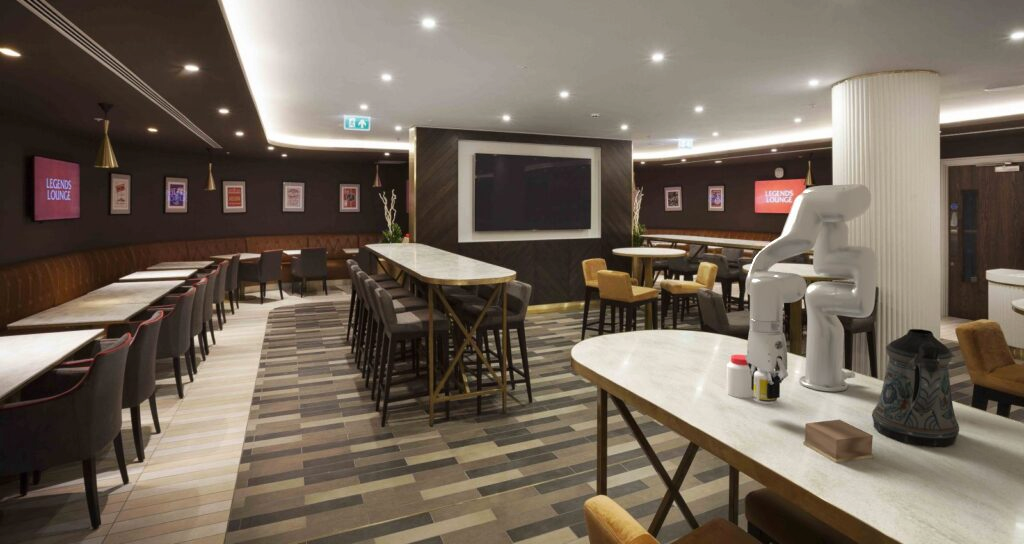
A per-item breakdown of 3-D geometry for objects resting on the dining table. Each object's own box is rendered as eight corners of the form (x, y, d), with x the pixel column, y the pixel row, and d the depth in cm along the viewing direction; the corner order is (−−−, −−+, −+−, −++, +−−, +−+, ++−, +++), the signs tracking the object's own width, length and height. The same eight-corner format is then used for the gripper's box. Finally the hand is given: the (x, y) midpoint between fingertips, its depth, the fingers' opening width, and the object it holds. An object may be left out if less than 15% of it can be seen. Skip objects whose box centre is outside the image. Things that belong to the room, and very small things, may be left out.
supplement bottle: (781, 402, 136) (782, 365, 135) (765, 406, 134) (766, 368, 133) (764, 395, 141) (765, 359, 140) (748, 399, 139) (749, 363, 138)
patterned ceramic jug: (919, 418, 135) (926, 322, 133) (990, 453, 116) (999, 341, 113) (855, 420, 135) (861, 323, 132) (916, 456, 116) (924, 343, 113)
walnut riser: (838, 439, 124) (839, 419, 124) (873, 457, 115) (874, 435, 115) (803, 444, 123) (804, 423, 122) (835, 462, 113) (836, 440, 113)
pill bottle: (737, 399, 152) (738, 361, 150) (720, 390, 159) (721, 354, 158) (760, 396, 154) (761, 359, 152) (742, 388, 161) (743, 352, 160)
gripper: (803, 331, 127) (802, 404, 130) (757, 316, 144) (756, 381, 147) (775, 335, 126) (774, 408, 129) (732, 319, 143) (732, 384, 145)
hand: (765, 393), depth 138 cm, fingers closed on supplement bottle, 5 cm apart
